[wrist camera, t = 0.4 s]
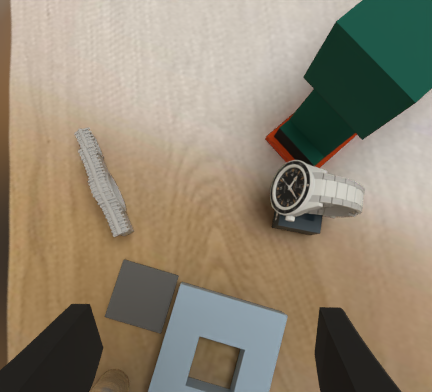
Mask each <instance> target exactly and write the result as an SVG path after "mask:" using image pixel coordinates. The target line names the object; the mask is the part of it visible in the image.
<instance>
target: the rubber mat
mask: <svg viewBox="0 0 432 392" xmlns="http://www.w3.org/2000/svg"><path fill="white" fill-rule="evenodd" d="M178 277H179V276H178V275H175V274H171V273H168V272H165V271H161V270H158V269H155V268H151V267H148V266H145V265H141V264H138V263H135V262H131V261H128V260H124V261H123V264H122V267H121V270H120V273H119V276H118V279H117V282H116V285H115V287H114V290H113V293H112V296H111V299H110V302H109V305H108V308H107V311H106V314H105V317H107V318H110V319H114V320H117V321H120V322H124V323H127V324H130V325H134V326H137V327H140V328H144V329H147V330H150V331H154V332H157V333H160V334H161V332H162V329H163V326H164V323H165V319H166V316H167V313H168V309H169V306H170V303H171V300H172V296H173V293H174V290H175V286H176V283H177V280H178Z"/></svg>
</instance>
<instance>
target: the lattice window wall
mask: <svg viewBox="0 0 432 392" xmlns="http://www.w3.org/2000/svg"><path fill="white" fill-rule="evenodd" d="M88 129H90V128H84V129H78V131H77V132H75V133H74V134H75V135H76V138H77V139H78V140H77V141H78V142H79V145H80V148H81V149H80V150H78V153H80V156H81V160H83V163H84V164H85V165H84V167H86V168H85V170H87V171H86V173H88V174H87V176H89V178H88V179H90V180H89V181H88V183H89V182H90V183H89V186H90V189H91V190H92V191H91V192H92V193H93V197H95V199H96V201H98V205H100V207H101V208H102V211H104V215H106V219H107V220H108V221H107V222H109V226H110V229H112V231H111V232H112V233H113V236H114V237H116V236H119V235H122V236H126V235H128V234H130V233H132V232H134V230H133V228H132V225H131V223H130V221H129V218H128V216H127V214H126V205H125V202H124V200H123V197H122V195H121V193H120V190H119V188H118V186H117V184H116V182H115V181H114V179H113V177H112V176H111V174H110V173H109V172H108V169H107V167H106V165H105V162H104V160H103V158H104V157H103V155H102V152H101V150H100V148H99V145H98V143H97V141H96V138H95V137H94V135H93V134H92V133H91V131H89V130H88Z"/></svg>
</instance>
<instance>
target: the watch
mask: <svg viewBox="0 0 432 392" xmlns="http://www.w3.org/2000/svg"><path fill="white" fill-rule="evenodd" d="M363 198H364V188H363V186H362V185H360V184H359V183H357V182H355V181H353V180H350V179H347V178H344V177H340V176H335V175H331V174H327V171H326V170H324V169H321V168H318V167H314V166H311V165H308V164H306V163H305V162H303V161H300V160H292V161H289V162H288V163H286V164H285V165H283V166H282V167H281V168H280V169H279V171H278V172H277V173H276V175H275V177H274V179H273V182H272V185H271V190H270V200H271V206H272V207H273V208H274V210H275V212H274V218H273V224H272V228H277V229H282V230H287V231H293V232H298V233H303V234H308V235H313V234H320V230H321V223H322V216H325V217H330V218H335V217H355V216H356V215H358V214H361V213H362V206H363Z"/></svg>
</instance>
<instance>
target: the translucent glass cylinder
mask: <svg viewBox="0 0 432 392" xmlns="http://www.w3.org/2000/svg"><path fill="white" fill-rule="evenodd" d="M128 389H129V379H128V377H127V375H126V374H125V373H124V372H123V371H121V370H119V369H111V370H109V371H107V372H105V373H104V374H103V376H102V377H101V378H100V379H99V381H98V382H97V383H96V384H95V386H94V387H93V388H92V389H91V391H90V392H128Z"/></svg>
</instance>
